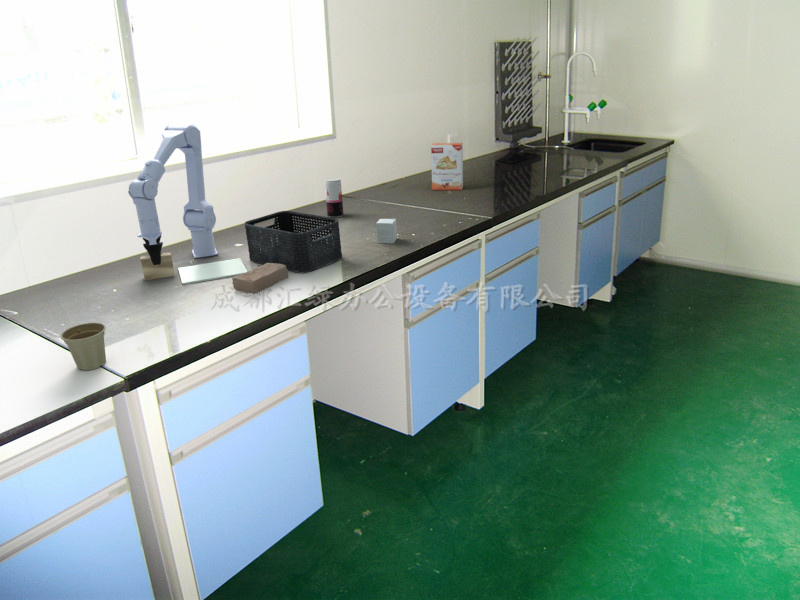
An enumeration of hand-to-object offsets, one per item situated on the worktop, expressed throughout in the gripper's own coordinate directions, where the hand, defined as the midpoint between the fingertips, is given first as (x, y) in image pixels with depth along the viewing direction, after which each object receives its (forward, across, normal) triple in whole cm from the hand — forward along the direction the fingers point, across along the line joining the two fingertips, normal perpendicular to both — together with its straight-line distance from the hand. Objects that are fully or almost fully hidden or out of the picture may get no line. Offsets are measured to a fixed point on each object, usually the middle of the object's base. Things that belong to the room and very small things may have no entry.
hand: (156, 261), depth 206 cm
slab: (+5, 0, 0) cm, 5 cm away
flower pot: (+6, +58, -18) cm, 61 cm away
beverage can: (+5, -43, +71) cm, 83 cm away
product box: (+5, +1, +77) cm, 77 cm away
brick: (+6, +23, +28) cm, 37 cm away
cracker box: (+5, -62, +131) cm, 145 cm away
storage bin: (+5, +5, +43) cm, 44 cm away
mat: (+5, +4, +16) cm, 17 cm away
